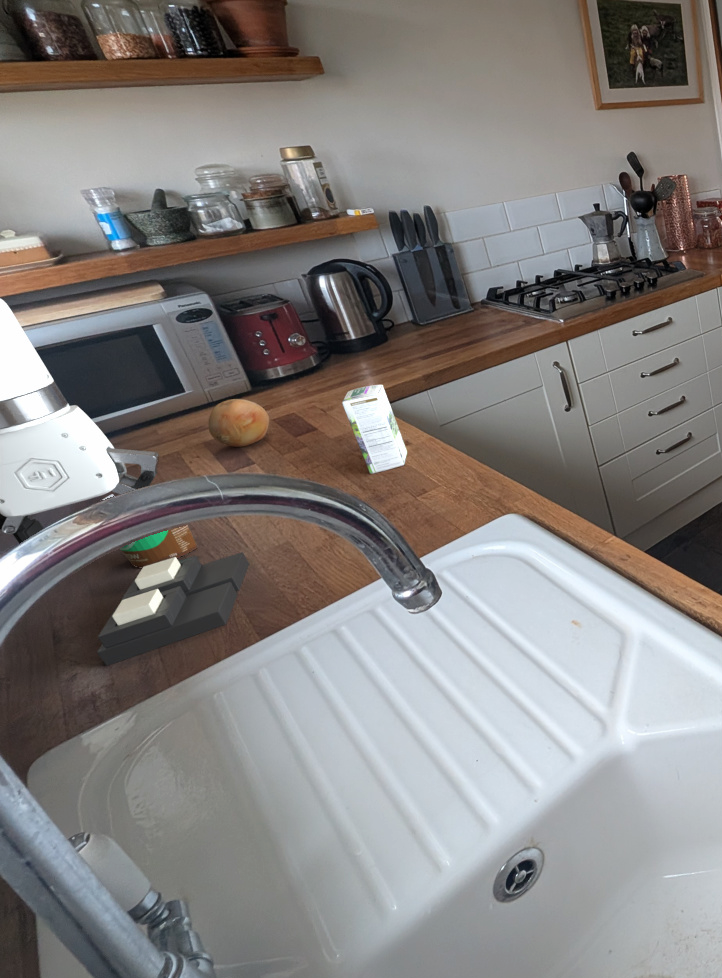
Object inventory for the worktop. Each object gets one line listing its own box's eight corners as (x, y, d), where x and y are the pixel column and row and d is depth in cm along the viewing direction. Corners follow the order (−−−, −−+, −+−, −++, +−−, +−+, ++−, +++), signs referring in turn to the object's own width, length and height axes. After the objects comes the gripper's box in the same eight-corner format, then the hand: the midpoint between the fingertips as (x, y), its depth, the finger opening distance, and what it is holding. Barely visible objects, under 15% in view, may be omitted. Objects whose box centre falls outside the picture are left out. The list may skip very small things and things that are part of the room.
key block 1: (128, 627, 88) (112, 603, 86) (146, 597, 94) (131, 574, 92) (239, 590, 93) (226, 566, 91) (249, 564, 98) (237, 541, 97)
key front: (119, 627, 82) (111, 616, 81) (129, 610, 85) (122, 599, 84) (156, 615, 84) (149, 604, 83) (164, 599, 87) (158, 588, 86)
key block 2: (106, 666, 81) (88, 641, 80) (126, 631, 87) (110, 607, 85) (226, 624, 86) (212, 599, 84) (238, 594, 92) (224, 570, 90)
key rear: (140, 591, 89) (133, 581, 88) (149, 577, 92) (143, 566, 91) (174, 580, 90) (168, 570, 89) (182, 566, 93) (176, 556, 92)
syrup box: (374, 461, 126) (345, 390, 120) (409, 452, 128) (381, 382, 122) (370, 475, 121) (339, 401, 115) (406, 465, 123) (377, 392, 117)
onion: (288, 430, 145) (268, 387, 141) (256, 452, 136) (233, 407, 132) (244, 435, 145) (223, 393, 141) (209, 458, 136) (185, 413, 132)
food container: (100, 573, 101) (63, 517, 97) (142, 547, 106) (109, 493, 102) (166, 574, 98) (131, 517, 94) (206, 548, 104) (174, 493, 100)
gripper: (-118, 447, 67) (-15, 584, 74) (105, 396, 74) (181, 526, 81) (-74, 421, 73) (18, 550, 80) (128, 377, 80) (197, 499, 87)
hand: (99, 538), depth 80 cm, fingers open, 9 cm apart
